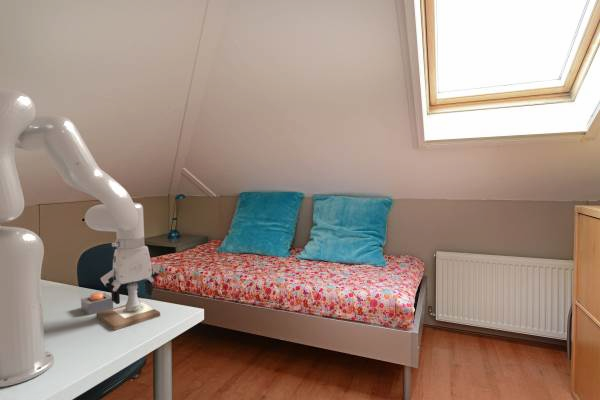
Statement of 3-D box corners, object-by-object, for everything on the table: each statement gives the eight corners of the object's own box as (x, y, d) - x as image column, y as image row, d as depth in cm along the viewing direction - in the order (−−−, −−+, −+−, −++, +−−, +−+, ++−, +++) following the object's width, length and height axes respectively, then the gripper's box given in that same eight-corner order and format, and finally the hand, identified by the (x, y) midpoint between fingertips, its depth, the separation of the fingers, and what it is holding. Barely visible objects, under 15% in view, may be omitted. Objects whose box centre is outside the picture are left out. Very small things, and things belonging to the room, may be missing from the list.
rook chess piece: (134, 312, 103) (134, 286, 102) (121, 311, 104) (120, 285, 103) (144, 307, 107) (143, 282, 107) (131, 306, 108) (130, 281, 108)
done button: (92, 303, 107) (92, 297, 107) (88, 300, 110) (88, 294, 109) (105, 300, 110) (104, 294, 110) (101, 297, 112) (100, 292, 112)
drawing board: (114, 330, 94) (114, 325, 94) (96, 316, 103) (96, 312, 103) (160, 315, 104) (160, 311, 104) (140, 304, 113) (139, 300, 113)
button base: (88, 314, 105) (88, 304, 105) (81, 309, 110) (80, 298, 109) (113, 308, 110) (112, 297, 110) (105, 302, 115) (104, 293, 115)
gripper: (104, 250, 95) (107, 309, 97) (164, 240, 108) (165, 293, 109) (95, 246, 100) (97, 303, 101) (153, 238, 113) (154, 288, 114)
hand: (133, 298), depth 105 cm, fingers open, 9 cm apart
